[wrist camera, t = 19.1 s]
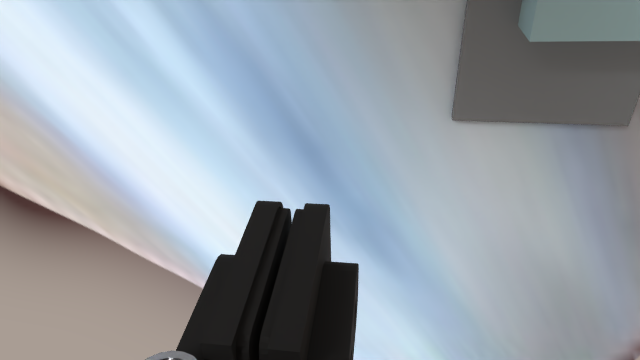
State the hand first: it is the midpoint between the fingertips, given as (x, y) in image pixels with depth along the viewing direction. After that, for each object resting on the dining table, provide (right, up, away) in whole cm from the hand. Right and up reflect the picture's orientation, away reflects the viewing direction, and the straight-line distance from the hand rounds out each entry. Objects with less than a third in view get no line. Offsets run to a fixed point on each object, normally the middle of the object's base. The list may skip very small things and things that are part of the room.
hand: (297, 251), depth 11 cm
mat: (+15, +11, +17) cm, 25 cm away
